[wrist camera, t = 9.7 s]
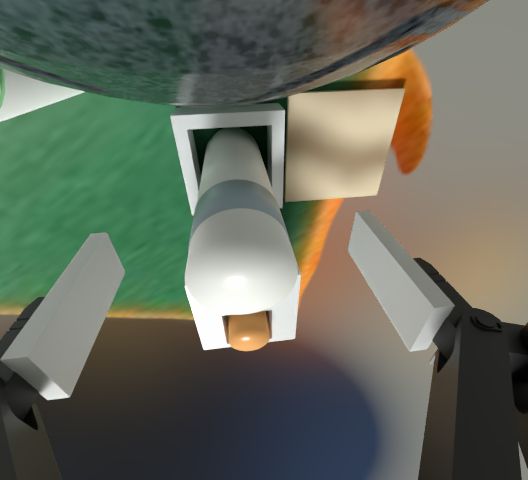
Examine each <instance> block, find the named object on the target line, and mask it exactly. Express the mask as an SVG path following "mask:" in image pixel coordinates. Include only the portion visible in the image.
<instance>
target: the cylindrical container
mask: <svg viewBox="0 0 528 480" xmlns="http://www.w3.org/2000/svg"><path fill="white" fill-rule="evenodd" d="M83 92H85V91H81V90H76V89H72V88H68V87H63V86H59V85H54V84H50V83H46V82H42V81H39V80H36V79H33V78H30V77H26V76H23V75H20V74H17V73H14V72H11V71H8V70H5V69H1V68H0V122H1V121H4V120H7V119H10V118H13V117H15V116H18V115H21V114H24V113H27V112H30V111H33V110H35V109H38V108H41V107H44V106H47V105H50V104H52V103H55V102H58V101H61V100H64V99H67V98H70V97H72V96H75V95H78V94H81V93H83Z"/></svg>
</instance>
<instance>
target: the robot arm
mask: <svg viewBox="0 0 528 480" xmlns="http://www.w3.org/2000/svg"><path fill="white" fill-rule="evenodd" d="M348 252H349V253H350V255H351V257H352V258H353V260H354V262H355V263H356V265H357V267H358V268H359V270H360V272H361V273H362V275H363V276H364V278H365V280H366V281H367V283H368V284H369V286H370V288H371V290H372V291H373V293H374V294H375V296H376V298H377V299H378V301H379V302H380V304H381V306H382V308H383V309H384V311H385V312H386V314H387V316H388V317H389V319H390V321H391V322H392V324H393V326H394V327H395V329H396V331H397V332H398V334H399V335H400V337H401V339H402V340H403V342H404V344H405V345H406V347H407V348H408V350H409V351H410V352H411V351H418V350H425V349H428V347H429V345H430V344H431V342H432V341H433V342H434V343H435V345H436V346H437V347H438V349H437V351H436V352H435V354H434V355H433V357H432V358H431V360H430V362H429V364H431V365H432V363H433V362H434V367H433V375H432V382H431V390H430V397H429V404H428V411H427V418H426V425H425V433H424V440H423V447H422V454H421V461H420V469H419V476H418V480H522V478H521V468H520V458H519V448H518V442H519V445H520V448H521V451H522V454H523V456H524V459H525V462H526V465H527V468H528V323H527V324H526V325H525V326H524V325H517V324H511V323H505V322H501V321H500V320H499V319H498V318H497V317H495V316H494V315H492V314H491V313H489V312H486V311H484V310H481V309H477V308H472V307H471V306H470V305H469V304H468V303H467V302H466V301H465V300H464V298H462V296H461V295H460V294H459V293H458V292H457V291H456V290H455V289H454V288H453V287H452V286H451V285H450V284H449V283H448V282H446V280H445V279H444V278H443V277H442V276H441V275H439V272H438V271H437V270H436V269H435V268H434V267H433V266H432V265H431V264H429V263H428V262H426V261H424V260H423V259H421V258H412V257H411V256H410V255H409V254H408V253H407V252H406V250H405V249H404V248H403V247H402V246H401V245H400V244H399V243H398V242H397V240H396V239H395V238H394V237H393V236H392V235H391V234H390V232H389V231H388V230H387V229H386V228H385V227H384V226H383V225H382V224H381V223H380V221H379V220H378V219H377V218H376V217H375V216H374V215H373V214H372V213H371V211H370V210H367V211H357V212H356V215H355V219H354V224H353V229H352V233H351V238H350V242H349V247H348ZM124 274H125V270H124V268H123V266H122V264H121V262H120V260H119V258H118V255H117V253H116V251H115V249H114V247H113V245H112V243H111V240H110V238H109V236H108V234H107V232H106V233H94V234H90V236H89V237H88V238H87V240H86V241H85V243H84V244H83V245H82V247H81V248H80V250H79V251H78V252H77V254H76V255H75V256H74V258H73V259H72V261H71V262H70V263H69V265H68V266H67V268H66V269H65V270H64V272H63V273H62V274H61V276H60V277H59V279H58V280H57V281H56V283H55V284H54V286H53V287H52V288H51V290H50V291H49V293H48V294H47V295H46V297H38V298H37V299H36V300H34V301H33V302H32V303H31V304H30V305H28V306H27V307H26V308H25V309H24V310H23V312H22V313H21V314H20V316H19V317H18V318H17V321H16V322H14V323H13V325H12V326H11V327H10V330H9V331H7V333H6V334H5V335H4V336H3V338H2V339H1V340H0V480H62V479H61V476H60V473H59V470H58V467H57V464H56V461H55V458H54V455H53V452H52V449H51V446H50V443H49V440H48V437H47V434H46V431H45V428H44V425H43V422H42V419H41V416H40V413H39V410H38V407H37V406H36V405H35V404H34V401H35V399H36V397H37V395H38V393H40V394H41V395H42V396H43V397H45V398H46V399H47V400H52V399H60V398H67V397H70V396H71V393H72V391H73V389H74V387H75V384H76V382H77V380H78V377H79V375H80V373H81V371H82V369H83V366H84V364H85V362H86V360H87V357H88V355H89V353H90V351H91V348H92V346H93V344H94V342H95V339H96V337H97V335H98V333H99V330H100V328H101V326H102V323H103V321H104V319H105V317H106V314H107V312H108V310H109V308H110V305H111V303H112V301H113V299H114V296H115V294H116V292H117V290H118V287H119V285H120V283H121V281H122V278H123V276H124Z"/></svg>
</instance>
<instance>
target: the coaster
mask: <svg viewBox="0 0 528 480" xmlns="http://www.w3.org/2000/svg"><path fill="white" fill-rule="evenodd" d="M404 92H405V88H383V89H360V90H336V91H313V92H301V93H298V94H295V95H292V96H289V97H287V129H286V162H285V196H284V200H285V202H294V201H307V200H320V199H333V198H345V197H358V196H371V195H377V192H378V189H379V185H380V181H381V177H382V174H383V170H384V166H385V163H386V159H387V155H388V151H389V148H390V144H391V140H392V137H393V133H394V129H395V125H396V122H397V118H398V114H399V111H400V107H401V103H402V99H403V96H404Z"/></svg>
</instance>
